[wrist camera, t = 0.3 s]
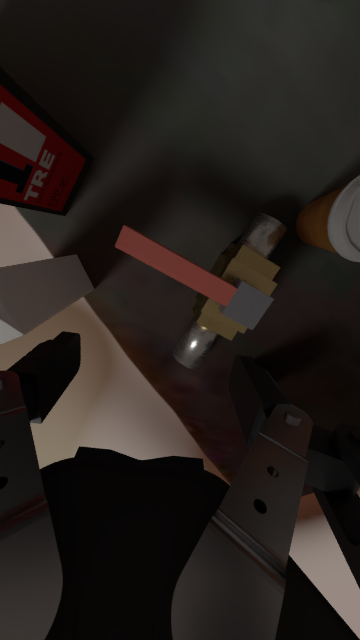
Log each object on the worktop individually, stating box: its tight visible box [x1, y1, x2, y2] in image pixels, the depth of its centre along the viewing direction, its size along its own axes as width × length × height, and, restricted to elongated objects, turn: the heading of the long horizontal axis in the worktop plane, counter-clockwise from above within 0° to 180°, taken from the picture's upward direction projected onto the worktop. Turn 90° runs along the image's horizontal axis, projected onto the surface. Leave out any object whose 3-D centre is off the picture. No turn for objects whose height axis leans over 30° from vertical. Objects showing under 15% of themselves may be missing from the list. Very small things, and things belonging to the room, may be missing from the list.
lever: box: [115, 225, 274, 330], centre depth 27 cm, size 18×4×3 cm, turn 61°
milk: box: [0, 254, 94, 344], centre depth 27 cm, size 6×6×22 cm
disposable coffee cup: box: [296, 175, 360, 262], centre depth 29 cm, size 10×10×12 cm
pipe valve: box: [173, 212, 287, 369], centre depth 34 cm, size 25×7×9 cm, turn 152°
